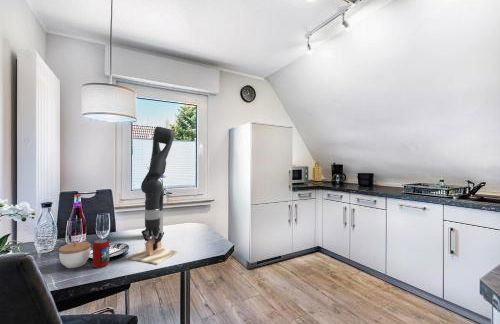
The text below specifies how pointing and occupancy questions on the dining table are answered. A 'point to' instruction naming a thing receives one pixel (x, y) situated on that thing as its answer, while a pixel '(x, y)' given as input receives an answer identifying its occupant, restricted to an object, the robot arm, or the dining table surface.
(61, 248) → the lidded bowl
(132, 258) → the striped cloth
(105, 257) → the beverage can
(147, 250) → the tile
